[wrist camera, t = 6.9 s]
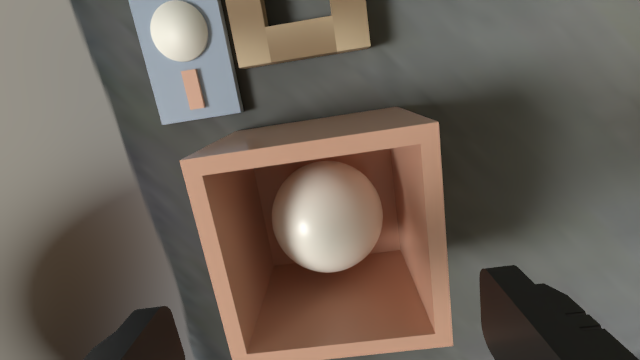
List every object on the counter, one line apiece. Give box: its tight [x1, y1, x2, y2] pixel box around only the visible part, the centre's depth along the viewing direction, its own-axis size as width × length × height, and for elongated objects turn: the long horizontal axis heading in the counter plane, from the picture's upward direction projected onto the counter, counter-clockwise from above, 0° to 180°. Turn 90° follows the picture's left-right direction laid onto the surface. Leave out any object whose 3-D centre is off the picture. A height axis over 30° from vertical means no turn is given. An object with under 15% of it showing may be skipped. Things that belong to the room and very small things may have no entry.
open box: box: [179, 107, 453, 360], centre depth 15 cm, size 8×8×7 cm
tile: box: [129, 0, 244, 125], centre depth 17 cm, size 6×4×1 cm, turn 9°
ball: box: [272, 161, 383, 273], centre depth 16 cm, size 5×5×5 cm
